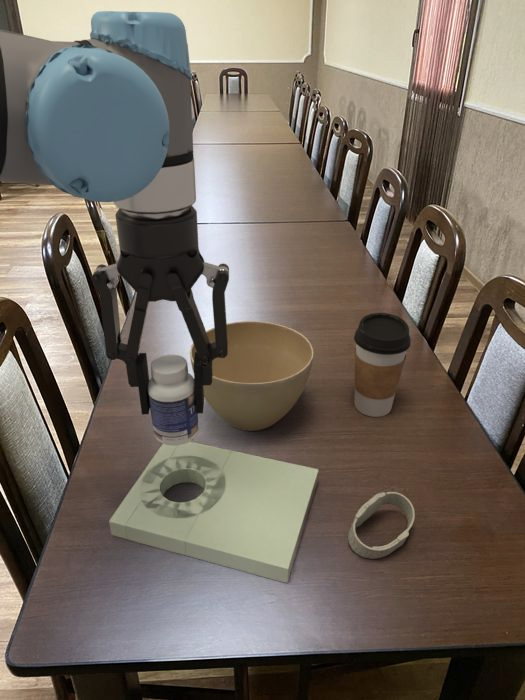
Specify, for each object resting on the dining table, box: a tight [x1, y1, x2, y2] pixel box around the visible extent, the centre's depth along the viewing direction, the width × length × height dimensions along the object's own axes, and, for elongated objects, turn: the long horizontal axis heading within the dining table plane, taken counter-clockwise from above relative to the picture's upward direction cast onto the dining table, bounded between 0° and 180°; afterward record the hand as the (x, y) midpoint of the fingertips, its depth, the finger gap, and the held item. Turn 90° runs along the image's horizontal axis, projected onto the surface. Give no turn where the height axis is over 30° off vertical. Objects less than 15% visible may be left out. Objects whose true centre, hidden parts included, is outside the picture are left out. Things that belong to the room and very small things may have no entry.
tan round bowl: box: [189, 320, 314, 432], centre depth 82 cm, size 18×18×12 cm
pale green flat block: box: [108, 441, 319, 584], centre depth 68 cm, size 22×16×2 cm
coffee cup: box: [353, 312, 412, 418], centre depth 83 cm, size 8×8×15 cm
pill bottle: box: [147, 354, 200, 445], centre depth 61 cm, size 5×5×10 cm
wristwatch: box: [347, 491, 416, 560], centre depth 64 cm, size 9×6×5 cm
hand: (173, 406), depth 62 cm, fingers closed on pill bottle, 5 cm apart
